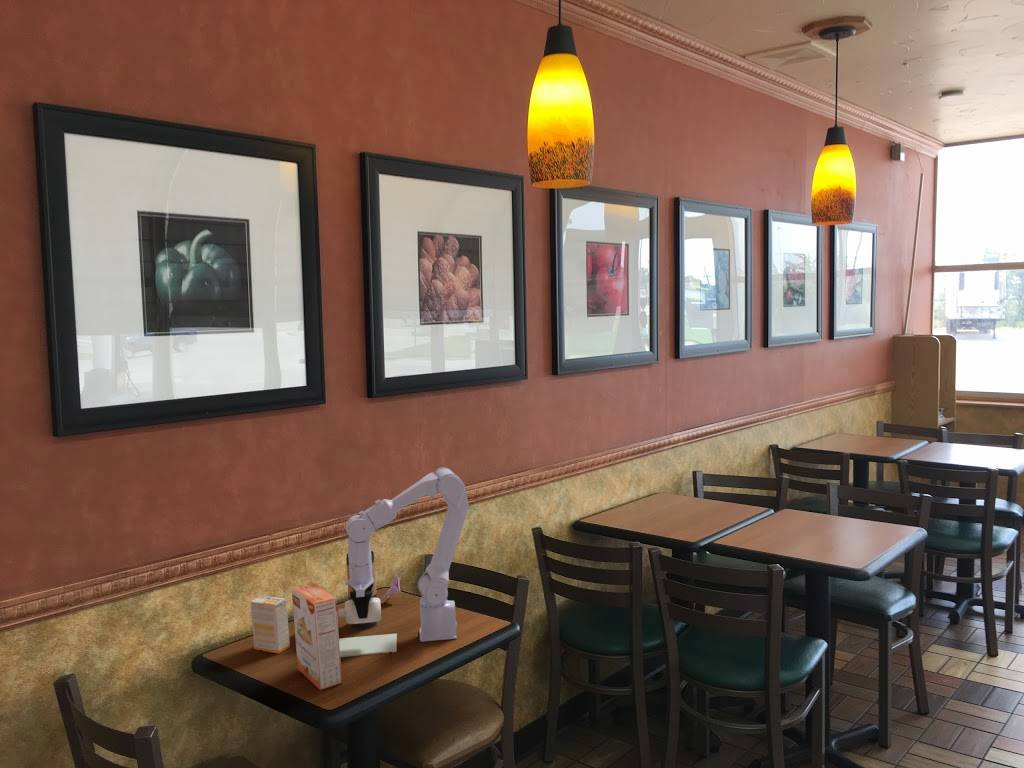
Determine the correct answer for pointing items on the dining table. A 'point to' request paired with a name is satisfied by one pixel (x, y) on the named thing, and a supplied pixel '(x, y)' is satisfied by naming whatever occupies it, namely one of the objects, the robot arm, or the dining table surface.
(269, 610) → the supplement box
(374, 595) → the travel mug
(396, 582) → the lily
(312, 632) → the cracker box
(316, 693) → the dining table surface
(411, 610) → the dining table surface
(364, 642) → the mat
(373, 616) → the grey rounded piece
